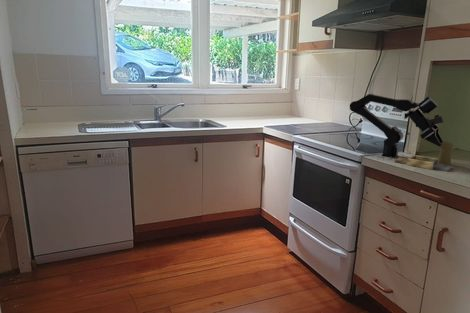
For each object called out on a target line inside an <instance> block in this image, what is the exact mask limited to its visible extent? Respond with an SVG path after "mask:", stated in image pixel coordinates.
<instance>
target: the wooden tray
mask: <svg viewBox="0 0 470 313" xmlns="http://www.w3.org/2000/svg"><path fill="white" fill-rule="evenodd" d="M394 163H397V164H403V165H406V166H410V167H416V168H422V169H427V170H428V169H429V170H436V171H442V172H449V171H450V170H451V169H452V165H444V164H438V158H432V157H427V156H421V155H412V156H410V157H408V158H407V157H401V156H399V157H397V158H395V159H394Z"/></svg>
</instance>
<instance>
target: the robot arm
mask: <svg viewBox="0 0 470 313" xmlns="http://www.w3.org/2000/svg"><path fill="white" fill-rule="evenodd" d="M371 102H372V103H375V104H380V105H384V106H385V105H386V106H390V107H393V108H395V109H397V110H399V111H402V112H405V113H404V117H403V118H404V120H406V119H408V118H409V119H410V120H411V122H413V124H414V126H415V127H416V128H418V130H420V132H421V133H420V135H419V137H420V138H421V139H423V140H424V141H426V142H429V143H431V144H433V145H435V146H437V147H440V148H441V143H442V142H444V141H443V139H442V137H441V135H440V127H439V125H438V124H442V123H444V122H445V120H444V117H443V115H440V114H434V117H432V118H429V117H426V116H425V115H424V114H430V113H431V112H433V111H434V110H436V109H437V108H438V107H439V105H438V103H437V102H436V101H435V100H434V99H432V98H431V96H426V97H425V98H424V99H423V100H422V101H420V102H414V100H412V99H407V98H405V99H404V98H392V97H387V96H382V95H377V94H374V93H368V94H366V95H365V96H363V97H362V98H358V100H353V101H351V102H350V103H349V110H350V111H351V112H353V113H354V114H356V115H359V116H361V117H363V118H365V119H366V120H367V121H369V123H371V124H372V125H373V126H375V127H377V129H379V130H380V131H381V132H382V133H383V134H384V136H385V137H386V139H384V140H383V150H382V154H381V156H384V157H390V158H396V157H398V155H399V147H398V146H399V142H401V141H402V140H403V139H404V133H403V132H402V129H399V128H398V126H396V125H394V126H390V125H389V124H388V123H386V122H385V121H383V120H382V119H381V118H379V117H378V116H377V115H375V114H374V113H373V112H372V111H370V110H369V109H368V107H367V105H368V104H370V103H371ZM413 109H415V110H413ZM408 111H409V112H408ZM407 112H408V113H407Z"/></svg>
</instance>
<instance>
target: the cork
mask: <svg viewBox="0 0 470 313" xmlns="http://www.w3.org/2000/svg"><path fill="white" fill-rule="evenodd" d="M453 147H454V143H453V142H451V141H443V142H442V143H441V146H440V152H439V154H438V157H437V159H438V164H444V165H450V166H452V165H451V163H452V149H453Z"/></svg>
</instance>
